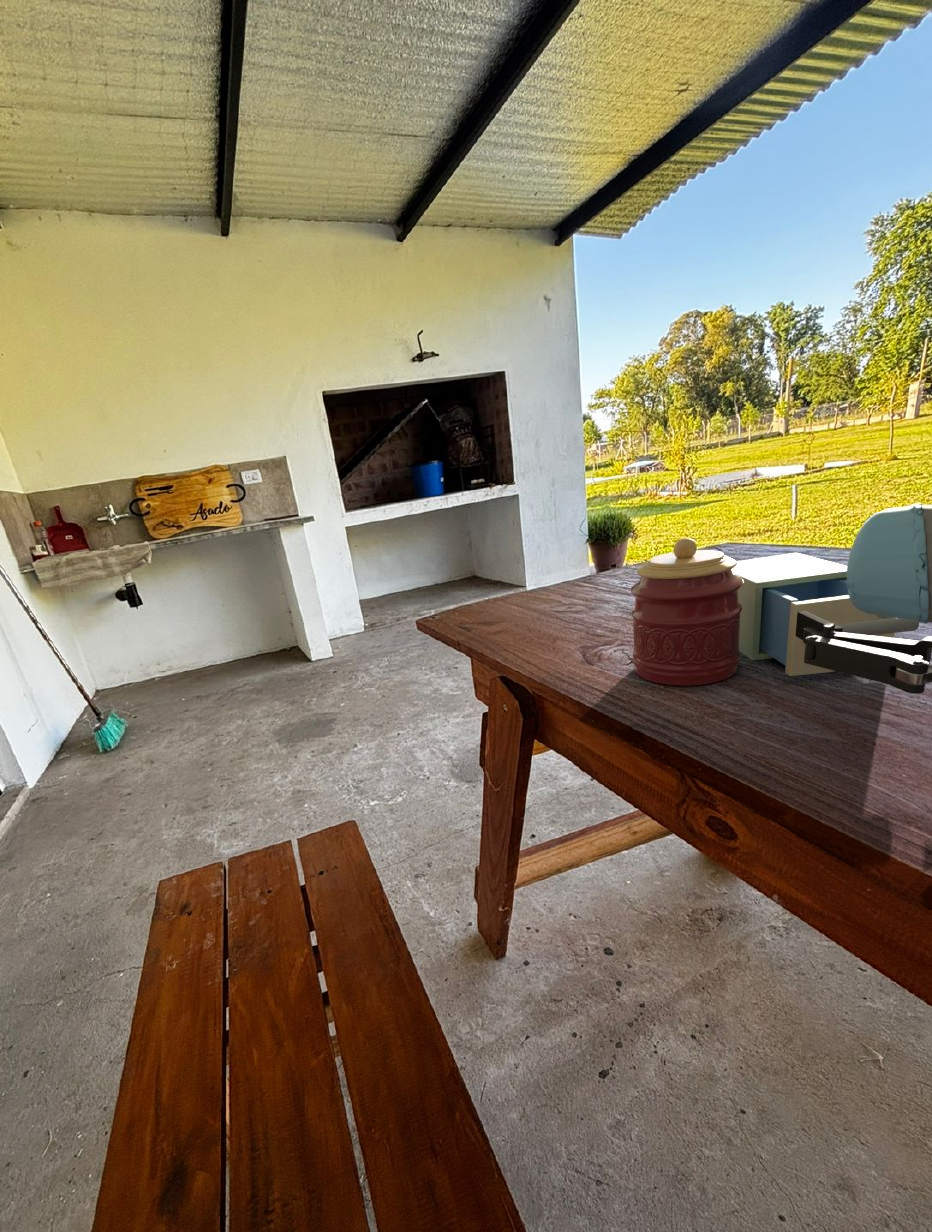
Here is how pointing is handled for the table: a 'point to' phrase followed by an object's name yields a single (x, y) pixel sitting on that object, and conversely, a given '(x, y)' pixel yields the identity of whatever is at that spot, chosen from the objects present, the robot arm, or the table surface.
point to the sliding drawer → (825, 603)
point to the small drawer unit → (771, 575)
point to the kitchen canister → (687, 617)
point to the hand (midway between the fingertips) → (872, 614)
